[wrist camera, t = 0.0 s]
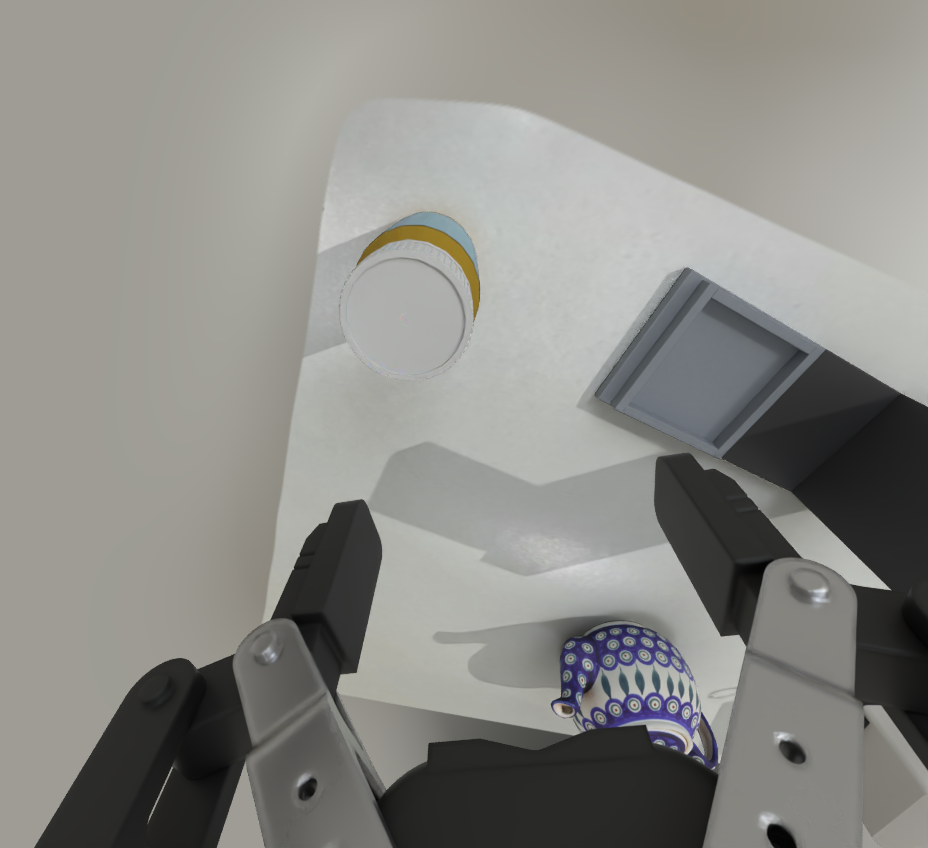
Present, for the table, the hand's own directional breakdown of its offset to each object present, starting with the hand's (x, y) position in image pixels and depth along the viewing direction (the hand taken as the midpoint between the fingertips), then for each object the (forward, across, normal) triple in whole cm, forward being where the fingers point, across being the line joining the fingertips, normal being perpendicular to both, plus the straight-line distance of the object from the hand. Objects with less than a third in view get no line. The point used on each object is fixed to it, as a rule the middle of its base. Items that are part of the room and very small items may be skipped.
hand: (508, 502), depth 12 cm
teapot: (+25, -10, +48) cm, 55 cm away
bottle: (+25, +4, -3) cm, 26 cm away
